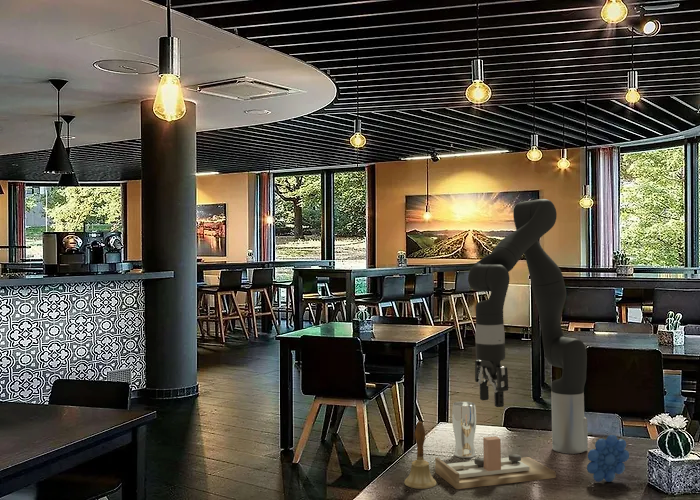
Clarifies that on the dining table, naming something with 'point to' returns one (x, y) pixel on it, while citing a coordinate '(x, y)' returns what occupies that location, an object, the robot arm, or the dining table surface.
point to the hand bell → (420, 464)
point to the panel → (482, 471)
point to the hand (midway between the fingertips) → (491, 403)
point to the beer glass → (464, 428)
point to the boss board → (534, 473)
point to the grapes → (607, 458)
